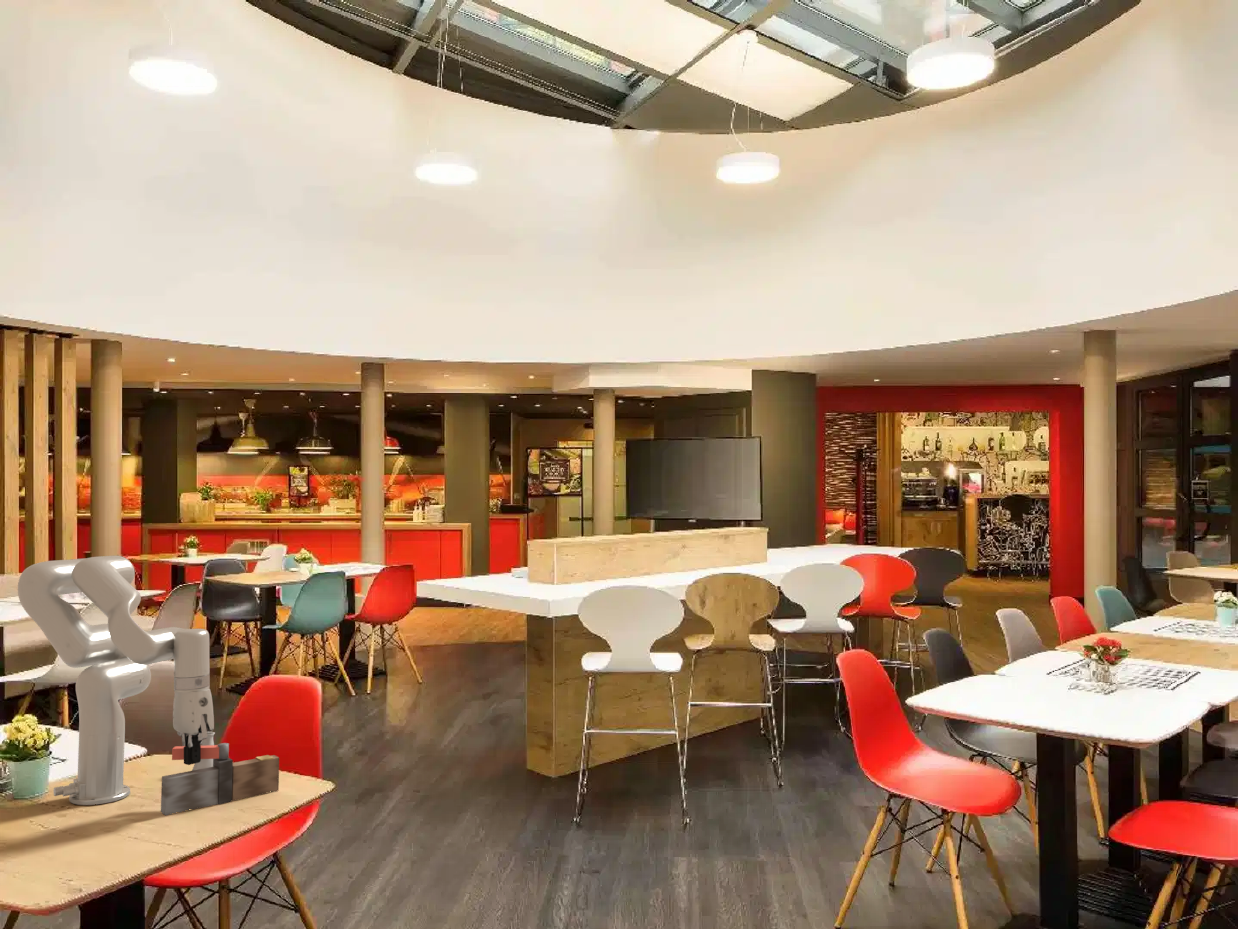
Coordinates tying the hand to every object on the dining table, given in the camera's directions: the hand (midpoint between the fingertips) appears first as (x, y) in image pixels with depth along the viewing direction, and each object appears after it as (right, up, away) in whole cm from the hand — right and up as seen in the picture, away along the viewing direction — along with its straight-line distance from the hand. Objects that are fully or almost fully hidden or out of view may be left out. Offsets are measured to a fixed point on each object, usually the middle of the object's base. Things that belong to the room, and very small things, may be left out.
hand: (192, 763), depth 211 cm
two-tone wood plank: (+5, -10, +4) cm, 12 cm away
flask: (-9, -11, +27) cm, 30 cm away
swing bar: (0, 0, +3) cm, 3 cm away
